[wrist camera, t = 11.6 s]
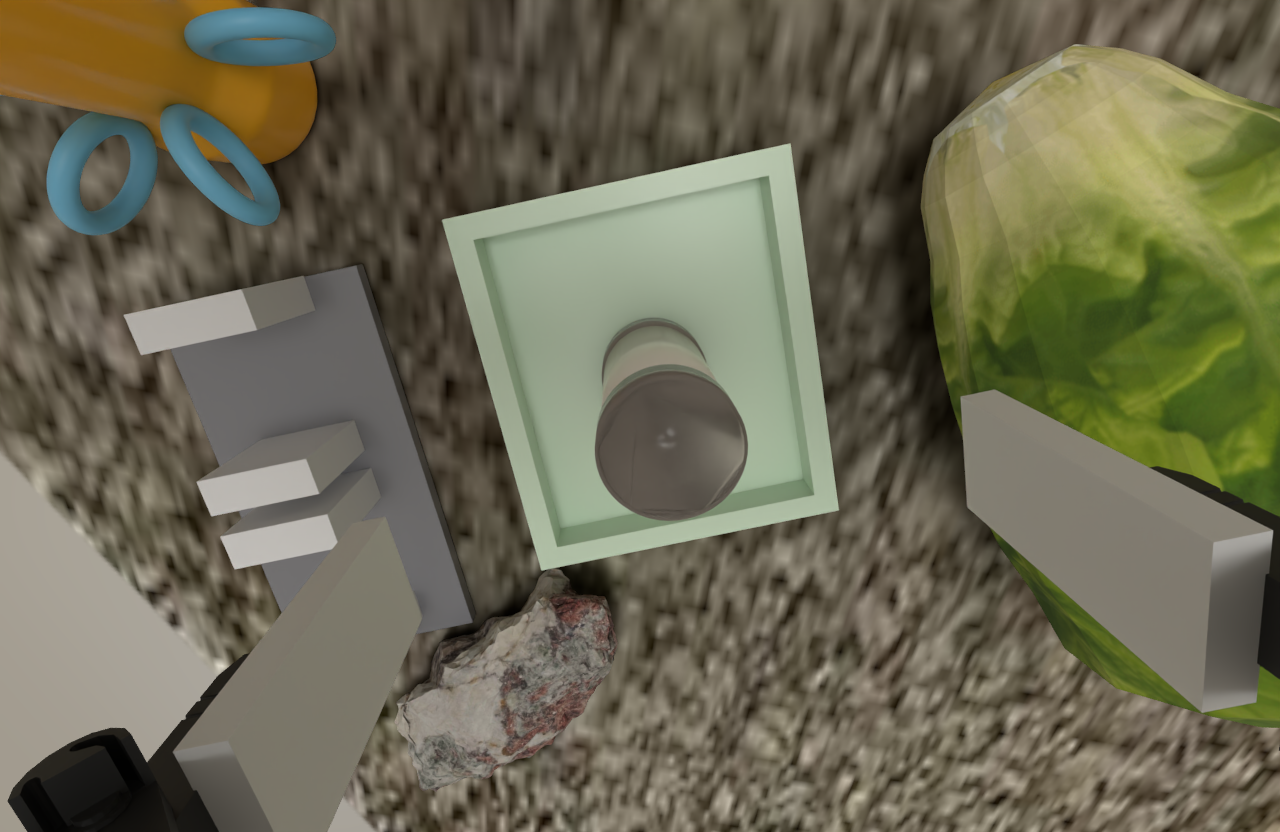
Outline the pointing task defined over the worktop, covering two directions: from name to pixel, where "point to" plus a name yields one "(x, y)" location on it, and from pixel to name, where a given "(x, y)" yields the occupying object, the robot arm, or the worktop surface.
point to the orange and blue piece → (166, 93)
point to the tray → (636, 289)
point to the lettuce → (1117, 286)
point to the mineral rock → (508, 685)
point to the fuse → (666, 425)
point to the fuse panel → (308, 431)
